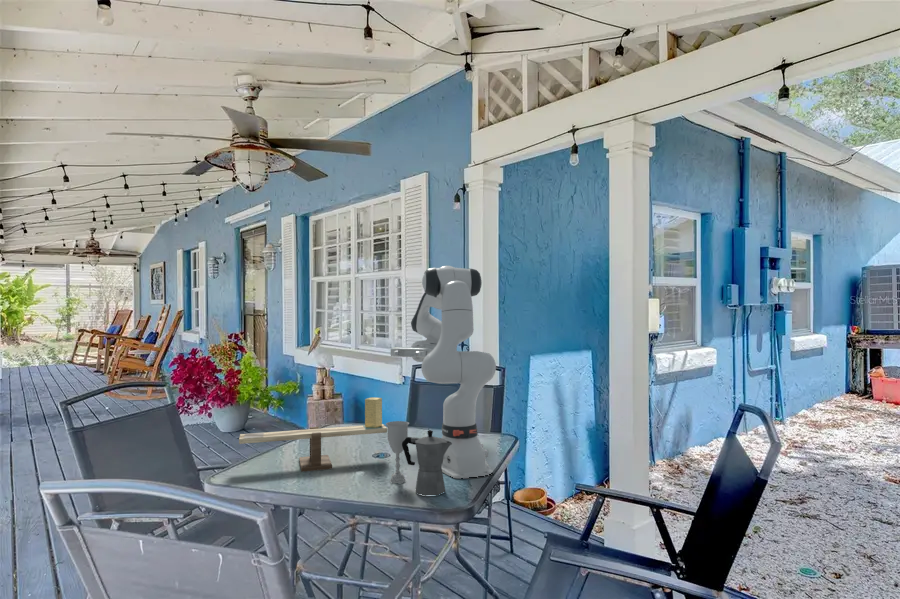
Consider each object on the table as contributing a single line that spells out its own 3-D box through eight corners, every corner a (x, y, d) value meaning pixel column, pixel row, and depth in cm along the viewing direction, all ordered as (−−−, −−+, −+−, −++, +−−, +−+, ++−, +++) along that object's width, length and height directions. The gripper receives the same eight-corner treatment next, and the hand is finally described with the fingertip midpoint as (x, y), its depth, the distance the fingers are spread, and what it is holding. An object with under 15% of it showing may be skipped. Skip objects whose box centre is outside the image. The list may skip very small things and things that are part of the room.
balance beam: (386, 432, 191) (386, 427, 191) (239, 443, 176) (239, 438, 176) (383, 428, 198) (383, 423, 198) (240, 439, 182) (240, 434, 182)
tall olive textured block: (382, 425, 194) (381, 397, 195) (375, 428, 190) (375, 399, 190) (371, 424, 196) (371, 397, 196) (365, 427, 192) (365, 399, 192)
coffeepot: (456, 488, 161) (455, 428, 162) (447, 499, 152) (447, 435, 152) (407, 484, 165) (407, 425, 166) (396, 494, 156) (396, 432, 157)
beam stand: (332, 468, 181) (332, 433, 182) (301, 471, 178) (301, 435, 178) (328, 458, 195) (327, 424, 195) (299, 460, 192) (299, 426, 192)
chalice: (409, 477, 172) (409, 421, 172) (409, 484, 165) (408, 425, 165) (386, 477, 171) (386, 421, 172) (385, 484, 165) (384, 425, 165)
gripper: (399, 343, 230) (383, 345, 217) (443, 344, 222) (429, 346, 210) (399, 357, 230) (383, 361, 217) (443, 359, 222) (429, 362, 209)
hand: (406, 353), depth 213 cm, fingers open, 8 cm apart
